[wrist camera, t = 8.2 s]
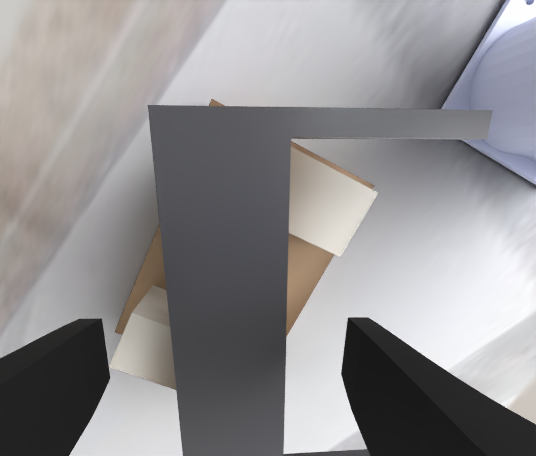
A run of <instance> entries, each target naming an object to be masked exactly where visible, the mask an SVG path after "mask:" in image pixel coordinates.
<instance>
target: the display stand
mask: <svg viewBox="0 0 536 456" xmlns="http://www.w3.org/2000/svg"><path fill="white" fill-rule="evenodd" d="M209 106H224V105H222V104H220V103H219V102H217V101H215V100H213V99H211V102H210V104H209ZM373 187H374V185H372V184H370V183H368V182H366V181H365V180H363V179H361V178H359V177H357V176H355V175H353V174H351V173H350V172H348V171H346V170H344V169H342V168H340V167H338V166H336V165H335V164H333V163H331V162H329V161H327V160H325V159H323V158H322V157H320V156H318V155H316V154H314V153H312V152H310V151H308V150H307V149H305V148H303V147H301V146H299V145H297V144H295V143H293V142H292V141H291V160H290V201H289V242H288V282H287V323H286V336H287V335H288V333H289V331H290V330H291V328H292V326H293V324H294V323H295V321H296V319H297V318H298V316H299V314H300V312H301V311H302V309H303V307H304V306H305V304H306V302H307V300H308V299H309V297H310V295H311V294H312V292H313V290H314V288H315V287H316V285H317V283H318V282H319V280H320V278H321V276H322V275H323V273H324V271H325V269H326V268H327V266H328V264H329V263H330V261H331V259H332V257H333V256H334V254H335V255H337V256H339V257H341V256H342V254H343V252H344V251H345V249H346V247H347V246H348V244H349V242H350V241H351V239H352V237H353V235H354V234H355V232H356V230H357V229H358V227H359V225H360V224H361V222H362V220H363V218H364V217H365V215H366V213H367V212H368V210H369V208H370V207H371V205H372V203H373V201H374V200H375V198H376V196H377V195H378V192H376V191H374V190H372V189H373ZM115 332H116V333H119V334H122V337H121V339H120V342H119V344H118V346H117V349H116V351H115V354H114V356H113V358H112V361H111V363H110V365H109V367H110V368H113V369H116V370H119V371H122V372H125V373H128V374H131V375H134V376H137V377H140V378H143V379H146V380H149V381H151V382H154V383H157V384H160V385H163V386H166V387H169V388H172V389H175V390H176V380H175V370H174V360H173V351H172V341H171V331H170V321H169V311H168V301H167V291H166V281H165V271H164V261H163V251H162V241H161V231H160V224H159V226H158V229H157V231H156V234H155V236H154V238H153V241H152V243H151V246H150V248H149V250H148V253H147V255H146V258H145V260H144V262H143V265H142V267H141V270H140V272H139V274H138V277H137V279H136V281H135V284H134V286H133V289H132V291H131V293H130V296H129V298H128V301H127V303H126V305H125V308H124V310H123V313H122V315H121V317H120V320H119V322H118V325H117V327H116V329H115Z"/></svg>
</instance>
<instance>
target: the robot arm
mask: <svg viewBox="0 0 536 456" xmlns="http://www.w3.org/2000/svg"><path fill="white" fill-rule="evenodd" d="M441 109H452V110H493V112H492V117H491V122H490V127H489V132H488V137H487V138H486V139H472V140H462V141H464V142H465V143H467V144H469V145H470V146H472V147H474V148H475V149H477V150H479V151H480V152H482V153H484V154H485V155H487V156H489V157H490V158H492V159H493V160H495V161H497V162H498V163H500V164H502V165H503V166H505V167H507V168H508V169H510V170H512V171H513V172H515V173H517V174H518V175H520V176H522V177H523V178H525V179H527V180H528V181H530V182H531V183H533V184H535V185H536V0H528V4H526V3H525V0H506V1H505V3H504V5H503V6H502V8H501V10H500V11H499V13H498V15H497V16H496V18H495V20H494V21H493V23H492V25H491V26H490V28H489V30H488V31H487V33H486V35H485V36H484V38H483V40H482V41H481V43H480V45H479V46H478V48H477V50H476V51H475V53H474V55H473V56H472V58H471V60H470V61H469V63H468V65H467V66H466V68H465V70H464V71H463V73H462V75H461V76H460V78H459V80H458V81H457V83H456V85H455V86H454V88H453V90H452V91H451V93H450V95H449V96H448V98H447V100H446V101H445V103H444V105H443V106H442V108H441ZM341 375H342V378H343V382H344V386H345V389H346V393H347V396H348V400H349V403H350V406H351V410H352V412H353V415H354V417H355V420H356V422H357V425H358V427H359V429H360V432H361V434H362V437H363V439H364V442H365V444H366V446H367V449H368V451H369V454H370V456H536V425H535V424H534V423H532V422H530V421H529V420H527V419H525V418H523V417H521V416H520V415H518V414H516V413H514V412H512V411H511V410H509V409H507V408H505V407H504V406H502V405H500V404H499V403H497V402H495V401H494V400H492V399H490V398H488V397H487V396H485V395H484V394H482V393H480V392H479V391H477V390H476V389H474V388H472V387H471V386H469V385H468V384H466V383H464V382H463V381H461V380H460V379H458V378H456V377H455V376H453V375H452V374H450V373H449V372H447V371H446V370H444V369H443V368H441V367H440V366H438V365H437V364H435V363H434V362H432V361H431V360H429V359H428V358H426V357H425V356H423V355H422V354H421V353H419V352H418V351H416V350H415V349H413V348H412V347H410V346H409V345H408V344H406V343H405V342H403V341H402V340H401V339H399V338H398V337H396V336H395V335H393V334H392V333H391V332H389V331H388V330H386V329H385V328H383V327H382V326H380V325H379V324H377V323H376V322H374V321H373V320H371V319H369V318H348V322H347V330H346V339H345V347H344V356H343V364H342V372H341ZM109 380H110V373H109V366H108V359H107V352H106V345H105V338H104V331H103V324H102V319H78V320H76V321H74V322H71V323H69V324H67V325H65V326H63V327H61V328H59V329H57V330H55V331H53V332H51V333H49V334H47V335H45V336H43V337H41V338H39V339H37V340H35V341H33V342H31V343H29V344H28V345H26V346H24V347H22V348H20V349H18V350H16V351H14V352H12V353H10V354H8V355H6V356H4V357H3V358H1V359H0V456H69V455H70V453H71V451H72V450H73V448H74V446H75V445H76V443H77V441H78V440H79V438H80V436H81V435H82V433H83V431H84V430H85V428H86V426H87V425H88V423H89V421H90V420H91V418H92V416H93V414H94V412H95V410H96V408H97V406H98V404H99V402H100V400H101V398H102V395H103V393H104V391H105V389H106V386H107V384H108V382H109Z"/></svg>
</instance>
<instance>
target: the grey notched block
mask: <svg viewBox="0 0 536 456" xmlns="http://www.w3.org/2000/svg"><path fill="white" fill-rule="evenodd" d="M148 111H149V121H150V131H151V141H152V151H153V161H154V171H155V181H156V191H157V201H158V211H159V221H160V231H161V241H162V251H163V261H164V271H165V281H166V291H167V301H168V311H169V321H170V331H171V341H172V351H173V360H174V370H175V380H176V390H177V400H178V410H179V420H180V430H181V440H182V450H183V456H370V454H369V451H368V449H365V450H348V451H330V452H312V453H294V454H283V445H284V404H285V364H286V323H287V282H288V242H289V201H290V160H291V138H298V139H428V140H472V139H486V138H487V137H488V132H489V127H490V122H491V117H492V112H493V110H452V109H381V108H310V107H239V106H168V105H148Z"/></svg>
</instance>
